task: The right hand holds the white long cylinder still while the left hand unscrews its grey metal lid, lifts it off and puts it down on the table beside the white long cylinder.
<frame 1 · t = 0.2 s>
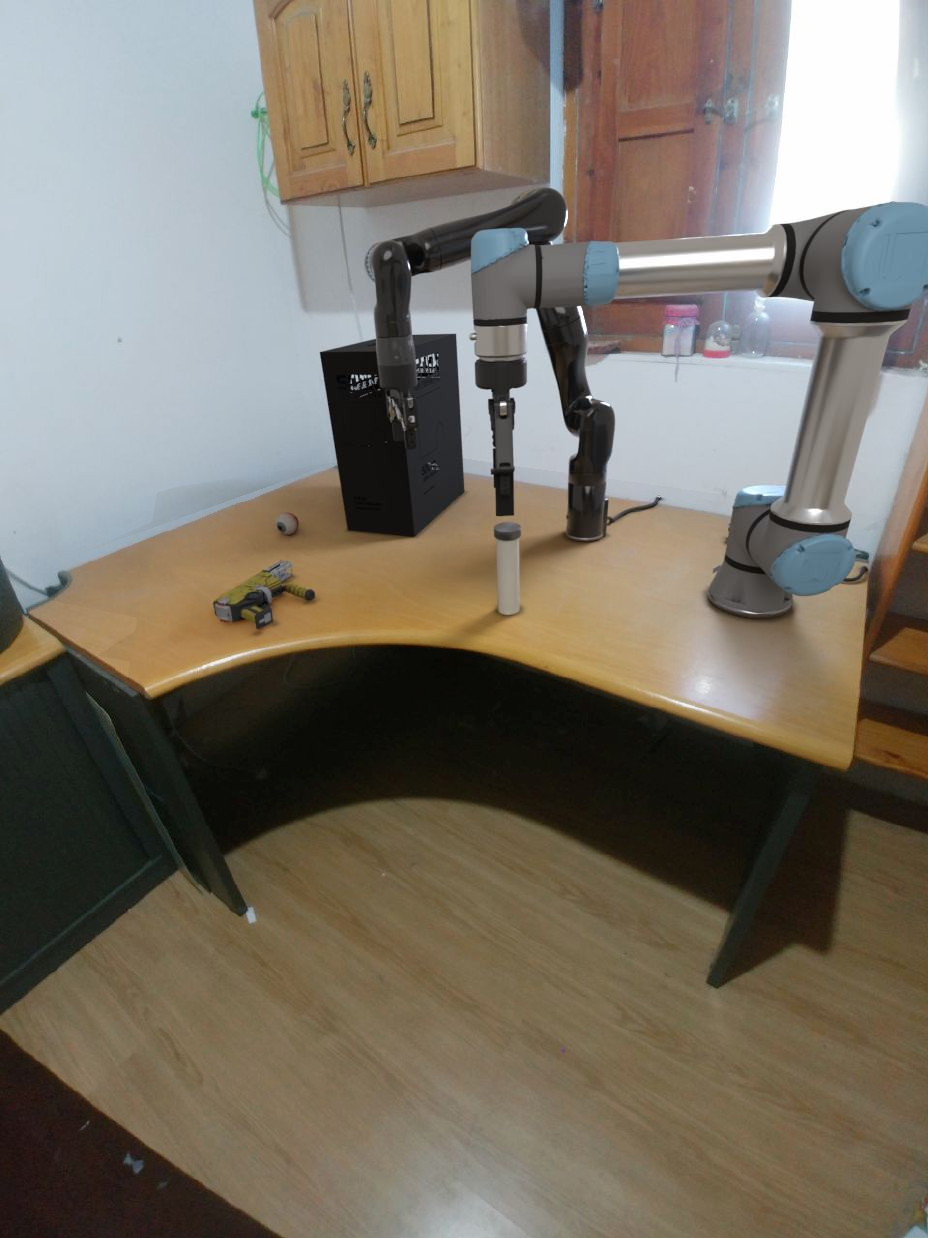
left hand: (404, 444, 126), 29 cm above the table, tool pointing down, fingers open, 8 cm apart
right hand: (503, 500, 97), 28 cm above the table, tool pointing down, fingers open, 13 cm apart
lid: (507, 528, 114), point 18 cm above the table, screwed on, not yet turned
eyeball: (289, 534, 165), on the table
white long cylinder: (508, 609, 123), on the table
salt shaker: (737, 541, 146), on the table
toy gun: (278, 602, 130), on the table
cardboard box: (410, 509, 177), on the table
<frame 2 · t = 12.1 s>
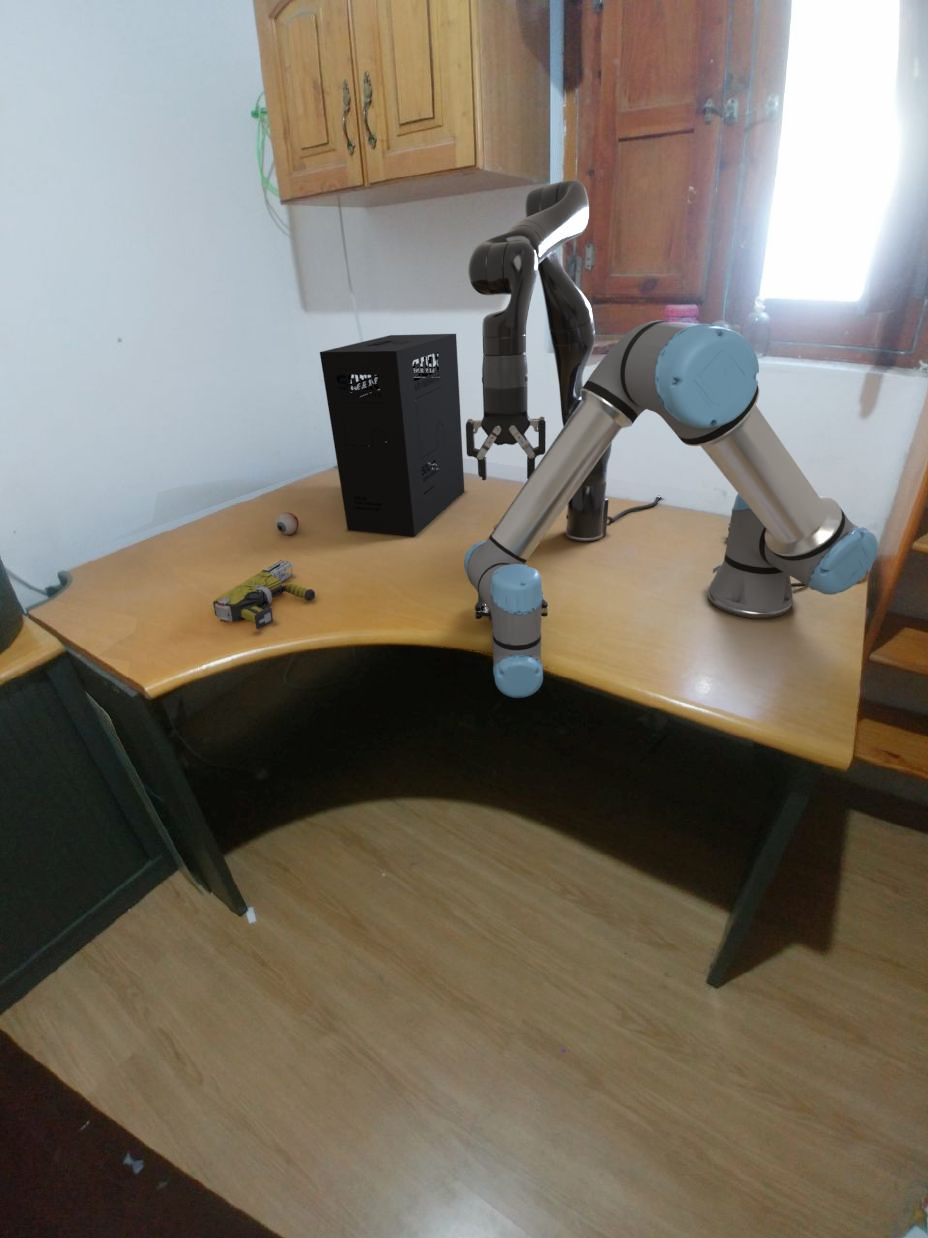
left hand: (506, 478, 109), 27 cm above the table, tool pointing down, fingers open, 7 cm apart
right hand: (506, 571, 124), 6 cm above the table, tool horizontal, fingers closed on white long cylinder, 4 cm apart
white long cylinder: (508, 609, 123), on the table, touching right hand
everything else where it was.
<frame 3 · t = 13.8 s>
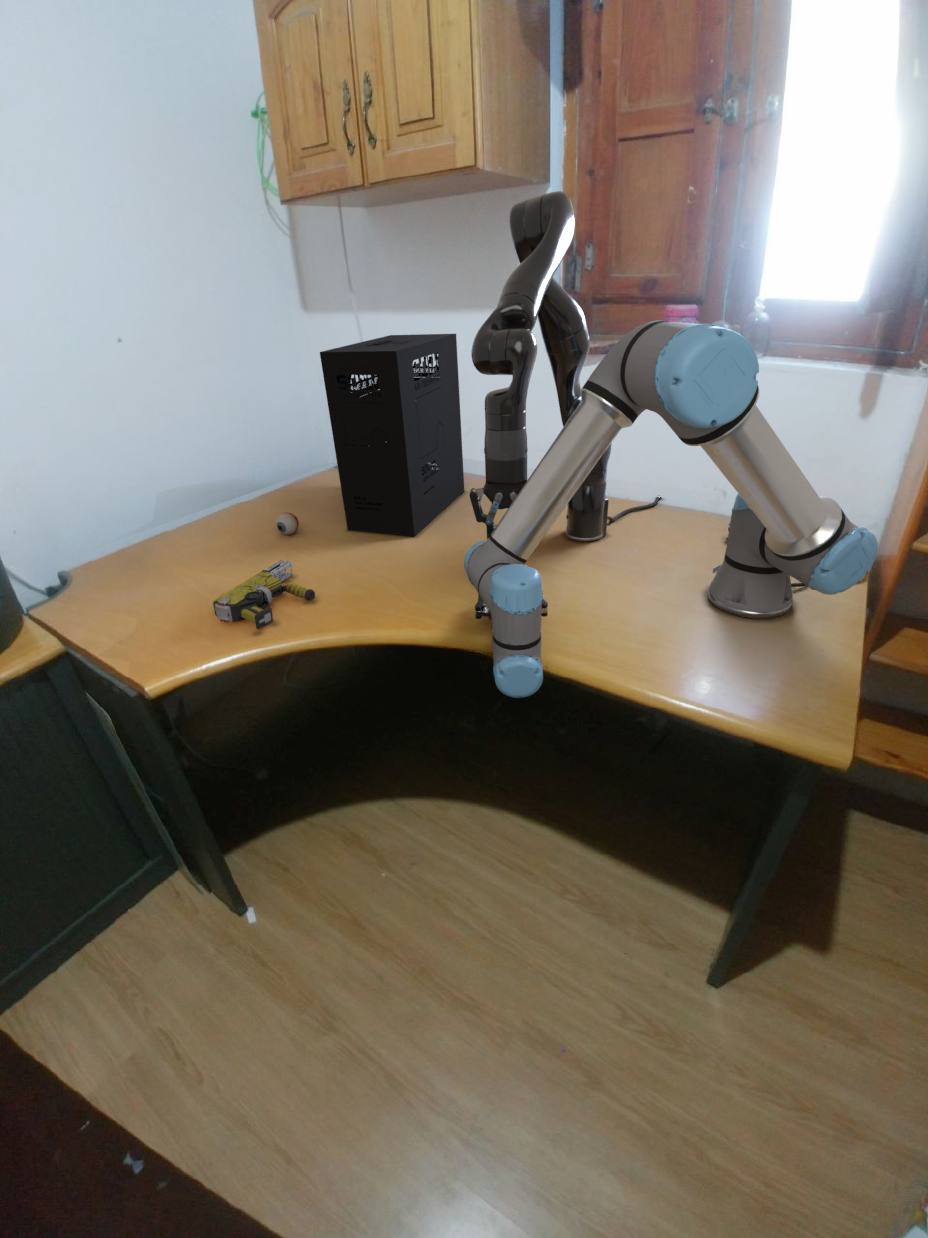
left hand: (507, 541, 115), 15 cm above the table, tool pointing down, fingers closed on lid, 5 cm apart
right hand: (506, 571, 124), 6 cm above the table, tool horizontal, fingers closed on white long cylinder, 4 cm apart
lid: (507, 528, 114), point 18 cm above the table, screwed on, not yet turned, touching left hand
white long cylinder: (508, 609, 123), on the table, touching right hand
everything else where it was.
when the left hand's fingers open (15 cm above the table, at t = 15.3 s): lid stays where it is, point 18 cm above the table.
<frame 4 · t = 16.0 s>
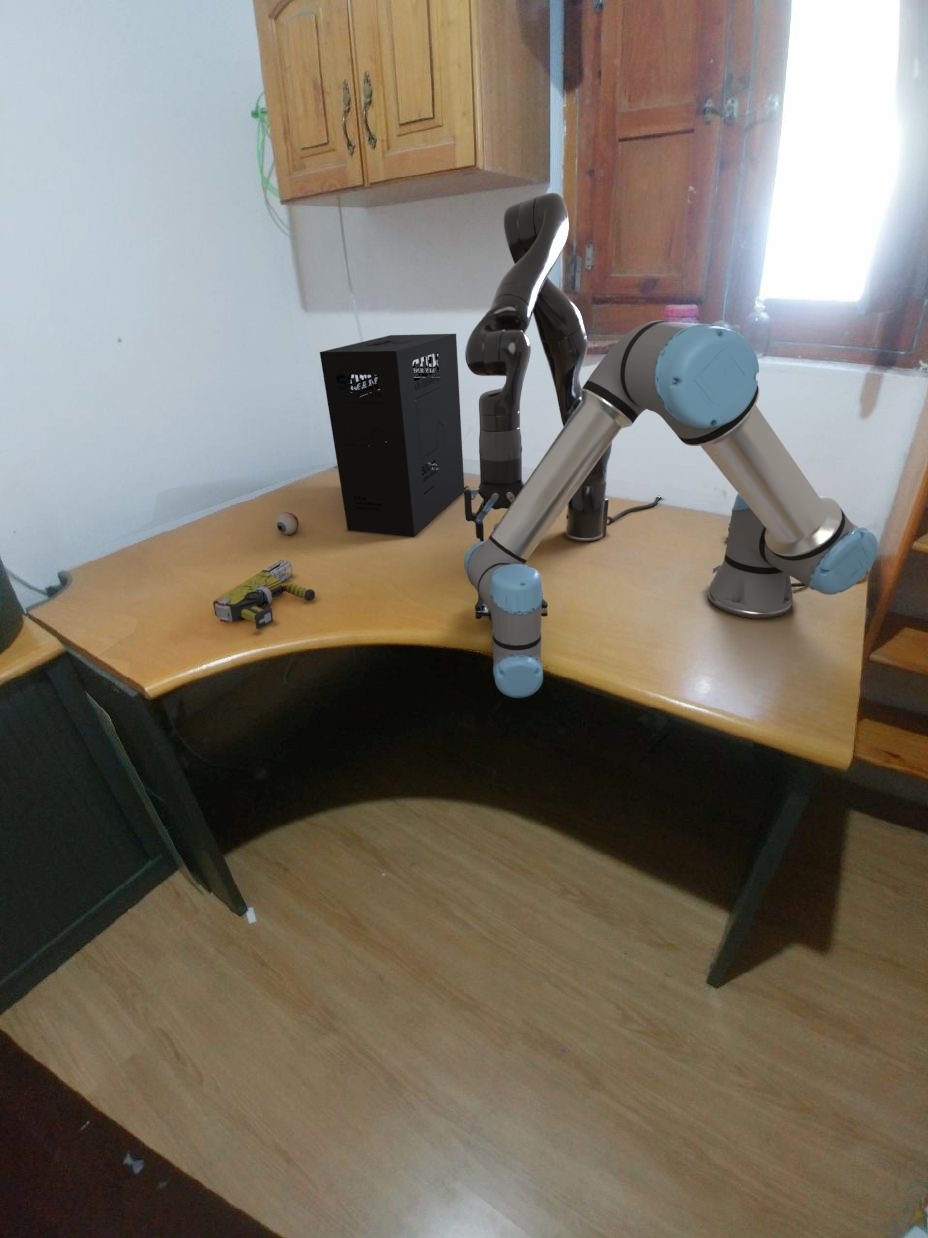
left hand: (502, 538, 115), 15 cm above the table, tool pointing down, fingers open, 7 cm apart
right hand: (506, 571, 124), 6 cm above the table, tool horizontal, fingers closed on white long cylinder, 4 cm apart
lid: (507, 527, 114), point 18 cm above the table, turned 62° so far, risen 0.2 cm, still on its thread
white long cylinder: (508, 609, 123), on the table, touching right hand
everything else where it was.
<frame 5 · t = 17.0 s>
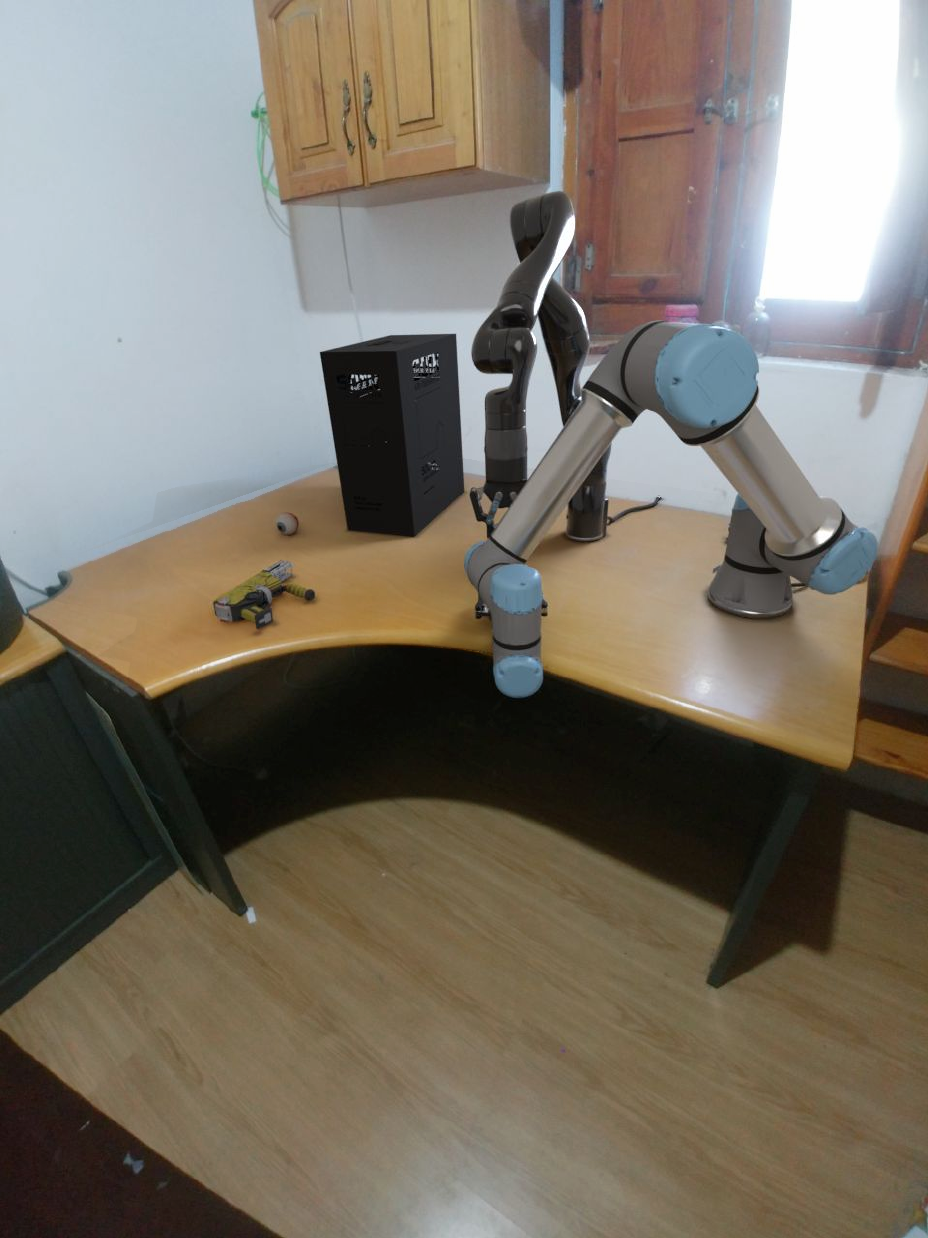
left hand: (507, 540, 115), 15 cm above the table, tool pointing down, fingers closed on lid, 5 cm apart
right hand: (506, 571, 124), 6 cm above the table, tool horizontal, fingers closed on white long cylinder, 4 cm apart
lid: (507, 527, 114), point 18 cm above the table, turned 62° so far, risen 0.2 cm, still on its thread, touching left hand
white long cylinder: (508, 609, 123), on the table, touching right hand
everything else where it was.
when the left hand's fingers open (0 cm above the table, at t = 23.3 s): lid drops 2 cm, point 1 cm above the table.
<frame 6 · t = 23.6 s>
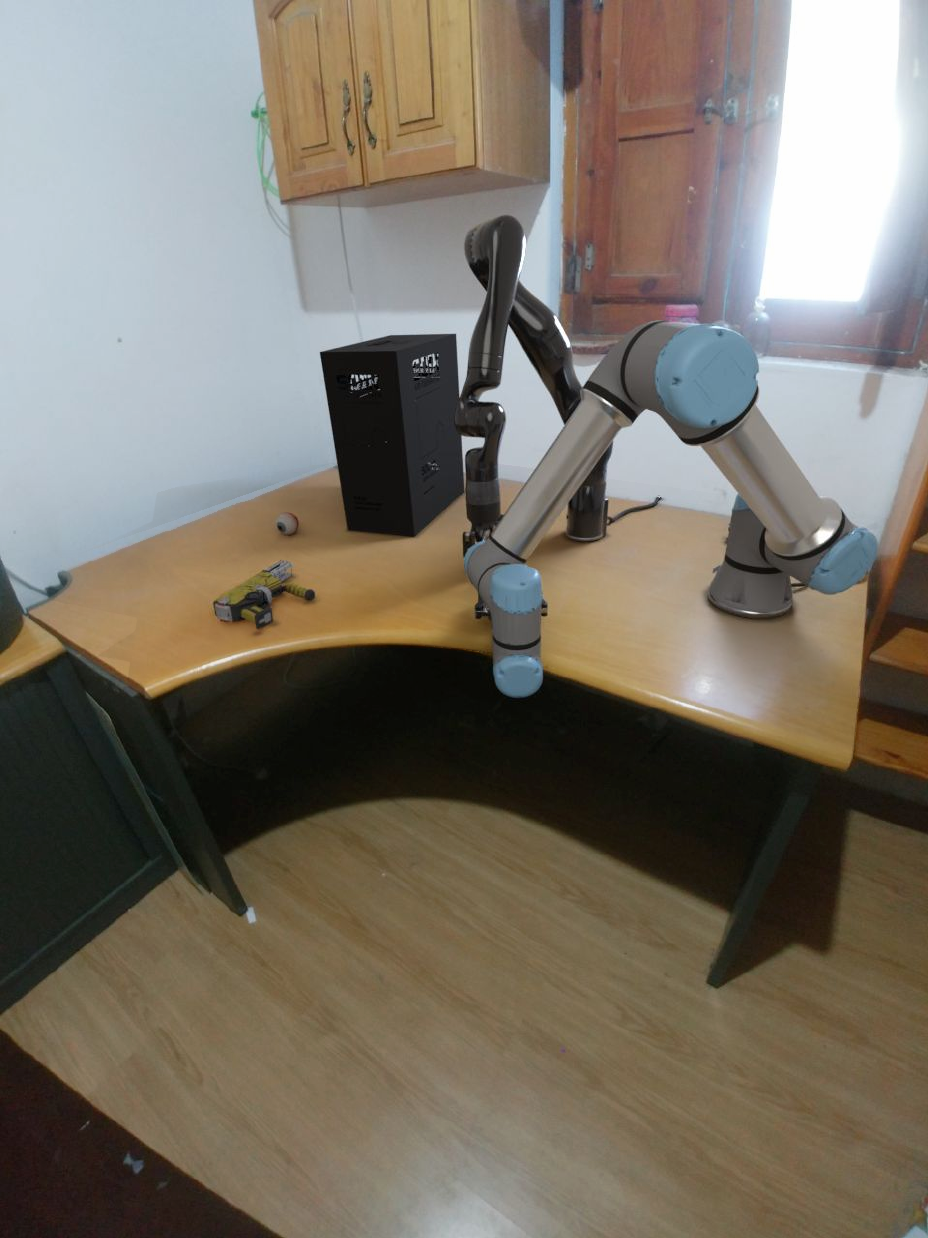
left hand: (485, 565, 139), 1 cm above the table, tool pointing down, fingers open, 8 cm apart
right hand: (506, 571, 124), 6 cm above the table, tool horizontal, fingers closed on white long cylinder, 4 cm apart
lid: (485, 564, 139), point 1 cm above the table, off its thread
white long cylinder: (508, 609, 123), on the table, touching right hand
everything else where it was.
when the right hand's fingers open (6 cm above the table, at t = 24.1 s): white long cylinder stays where it is, on the table.
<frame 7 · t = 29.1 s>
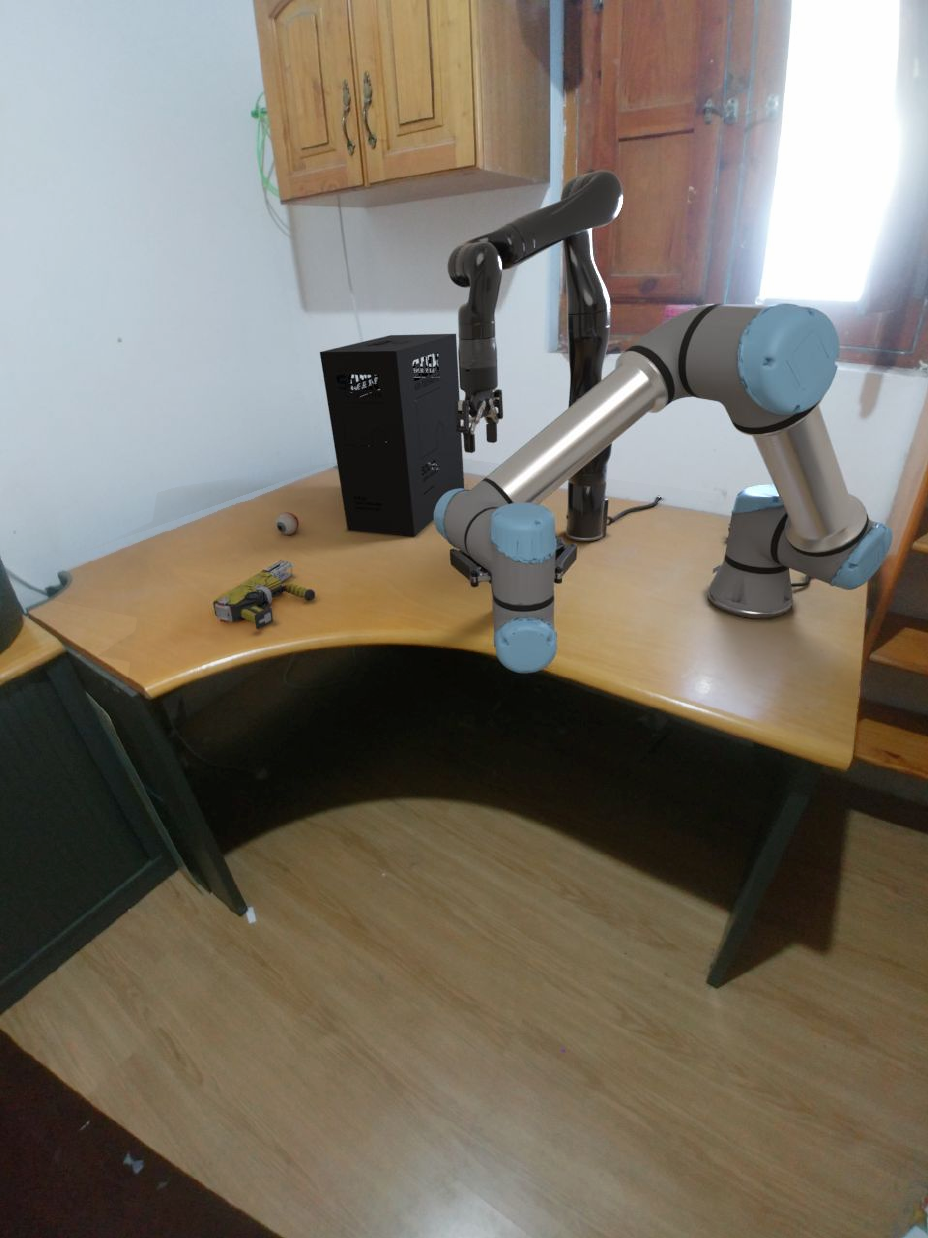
left hand: (481, 447, 125), 28 cm above the table, tool pointing down, fingers open, 8 cm apart
right hand: (510, 535, 103), 20 cm above the table, tool horizontal, fingers open, 13 cm apart
white long cylinder: (508, 609, 123), on the table
everything else where it was.
at the end: lid came off its thread; lid point 1.4 cm above the table; the left hand is holding nothing; the right hand is holding nothing; white long cylinder tilted 0°; white long cylinder moved 0.0 cm from its start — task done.
